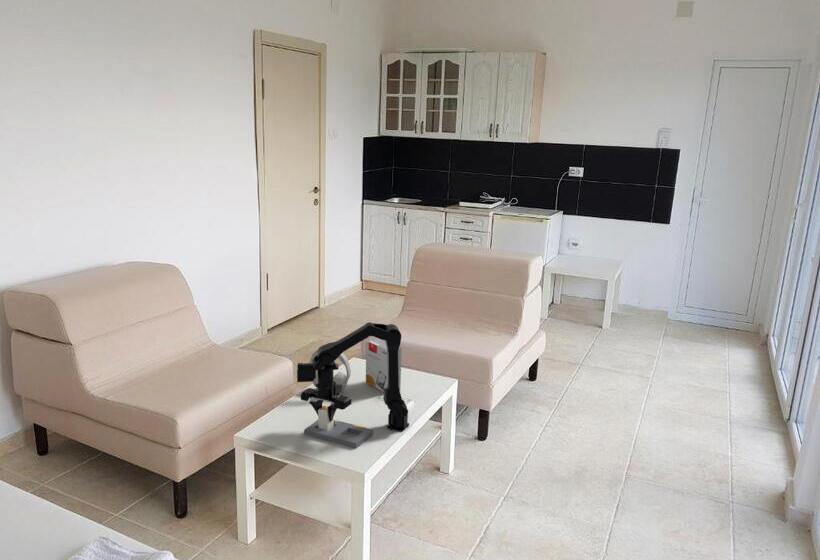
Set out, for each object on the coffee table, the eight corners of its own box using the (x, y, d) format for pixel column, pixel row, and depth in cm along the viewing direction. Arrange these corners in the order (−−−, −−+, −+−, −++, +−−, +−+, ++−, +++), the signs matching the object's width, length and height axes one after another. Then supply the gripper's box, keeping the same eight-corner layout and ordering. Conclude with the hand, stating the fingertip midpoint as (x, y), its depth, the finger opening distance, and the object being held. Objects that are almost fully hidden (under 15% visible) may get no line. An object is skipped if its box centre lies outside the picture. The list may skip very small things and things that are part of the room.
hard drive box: (364, 383, 283) (365, 340, 278) (378, 379, 288) (379, 336, 283) (387, 394, 272) (388, 349, 267) (401, 390, 277) (402, 346, 272)
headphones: (305, 391, 273) (304, 346, 268) (315, 384, 280) (315, 341, 275) (344, 399, 265) (344, 354, 261) (354, 392, 273) (354, 348, 268)
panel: (372, 434, 236) (372, 428, 236) (356, 448, 226) (356, 442, 225) (322, 421, 246) (322, 416, 245) (304, 434, 235) (304, 428, 234)
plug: (333, 427, 239) (333, 406, 237) (327, 432, 235) (327, 410, 233) (324, 425, 240) (324, 404, 238) (318, 429, 237) (318, 408, 235)
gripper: (359, 377, 236) (358, 416, 240) (316, 368, 244) (316, 406, 248) (343, 388, 227) (343, 428, 230) (299, 378, 234) (300, 417, 238)
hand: (325, 419), depth 237 cm, fingers closed on plug, 4 cm apart
